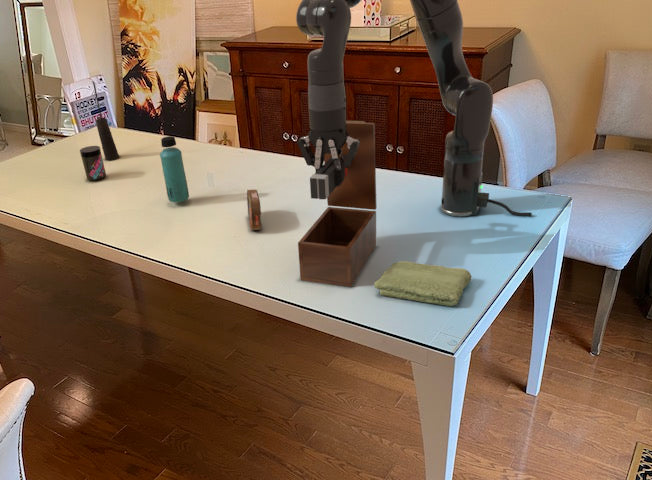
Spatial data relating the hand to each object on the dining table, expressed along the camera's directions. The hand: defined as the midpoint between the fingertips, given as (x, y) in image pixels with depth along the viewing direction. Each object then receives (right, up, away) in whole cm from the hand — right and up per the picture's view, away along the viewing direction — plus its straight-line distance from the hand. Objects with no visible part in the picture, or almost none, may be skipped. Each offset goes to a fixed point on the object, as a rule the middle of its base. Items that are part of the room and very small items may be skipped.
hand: (330, 184), depth 135 cm
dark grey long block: (0, 0, 0) cm, 0 cm away
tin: (-16, -5, +33) cm, 37 cm away
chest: (+3, -17, +10) cm, 20 cm away
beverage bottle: (-39, +4, +51) cm, 64 cm away
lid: (+5, +5, +6) cm, 9 cm away
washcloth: (+19, -23, -3) cm, 30 cm away
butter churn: (-70, +28, +96) cm, 122 cm away
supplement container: (-70, +16, +78) cm, 106 cm away
